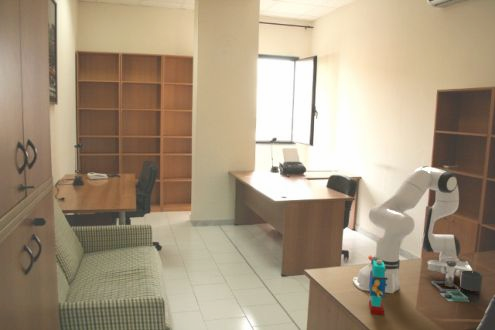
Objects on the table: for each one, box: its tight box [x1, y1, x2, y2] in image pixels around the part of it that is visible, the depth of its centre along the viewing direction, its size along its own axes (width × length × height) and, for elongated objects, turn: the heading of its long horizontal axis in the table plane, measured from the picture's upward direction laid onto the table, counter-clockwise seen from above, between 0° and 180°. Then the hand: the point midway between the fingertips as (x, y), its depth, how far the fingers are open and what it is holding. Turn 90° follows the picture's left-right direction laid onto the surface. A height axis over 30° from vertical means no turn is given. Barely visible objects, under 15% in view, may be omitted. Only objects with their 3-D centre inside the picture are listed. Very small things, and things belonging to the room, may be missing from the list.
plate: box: [439, 291, 470, 302], centre depth 194 cm, size 10×8×2 cm
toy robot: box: [368, 255, 386, 316], centre depth 178 cm, size 12×6×25 cm, turn 168°
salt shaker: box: [444, 261, 456, 288], centre depth 204 cm, size 4×4×12 cm
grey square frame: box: [431, 280, 460, 293], centre depth 205 cm, size 10×10×2 cm
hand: (450, 273), depth 203 cm, fingers closed on salt shaker, 4 cm apart
